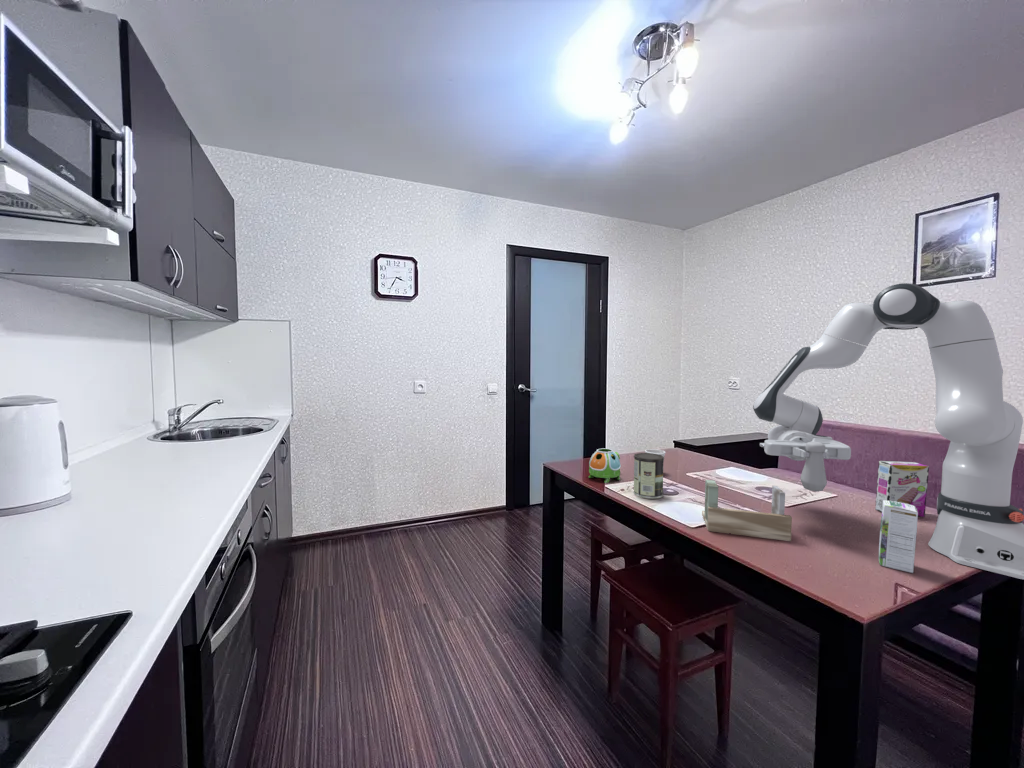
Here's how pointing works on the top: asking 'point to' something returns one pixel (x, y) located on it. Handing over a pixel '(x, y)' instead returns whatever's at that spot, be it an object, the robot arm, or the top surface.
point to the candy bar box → (902, 484)
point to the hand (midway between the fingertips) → (816, 455)
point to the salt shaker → (814, 468)
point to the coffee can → (648, 475)
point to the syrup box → (898, 535)
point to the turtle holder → (605, 464)
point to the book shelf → (747, 517)
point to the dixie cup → (656, 452)
